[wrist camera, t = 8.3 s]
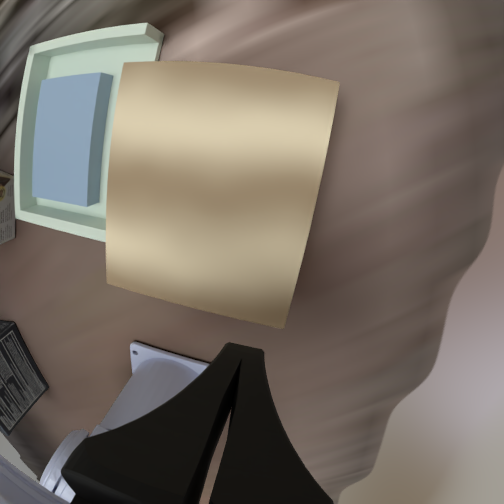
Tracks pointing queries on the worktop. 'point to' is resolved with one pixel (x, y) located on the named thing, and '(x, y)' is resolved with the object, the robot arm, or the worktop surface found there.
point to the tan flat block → (215, 184)
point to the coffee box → (7, 207)
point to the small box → (16, 378)
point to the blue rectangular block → (70, 138)
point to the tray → (110, 62)
